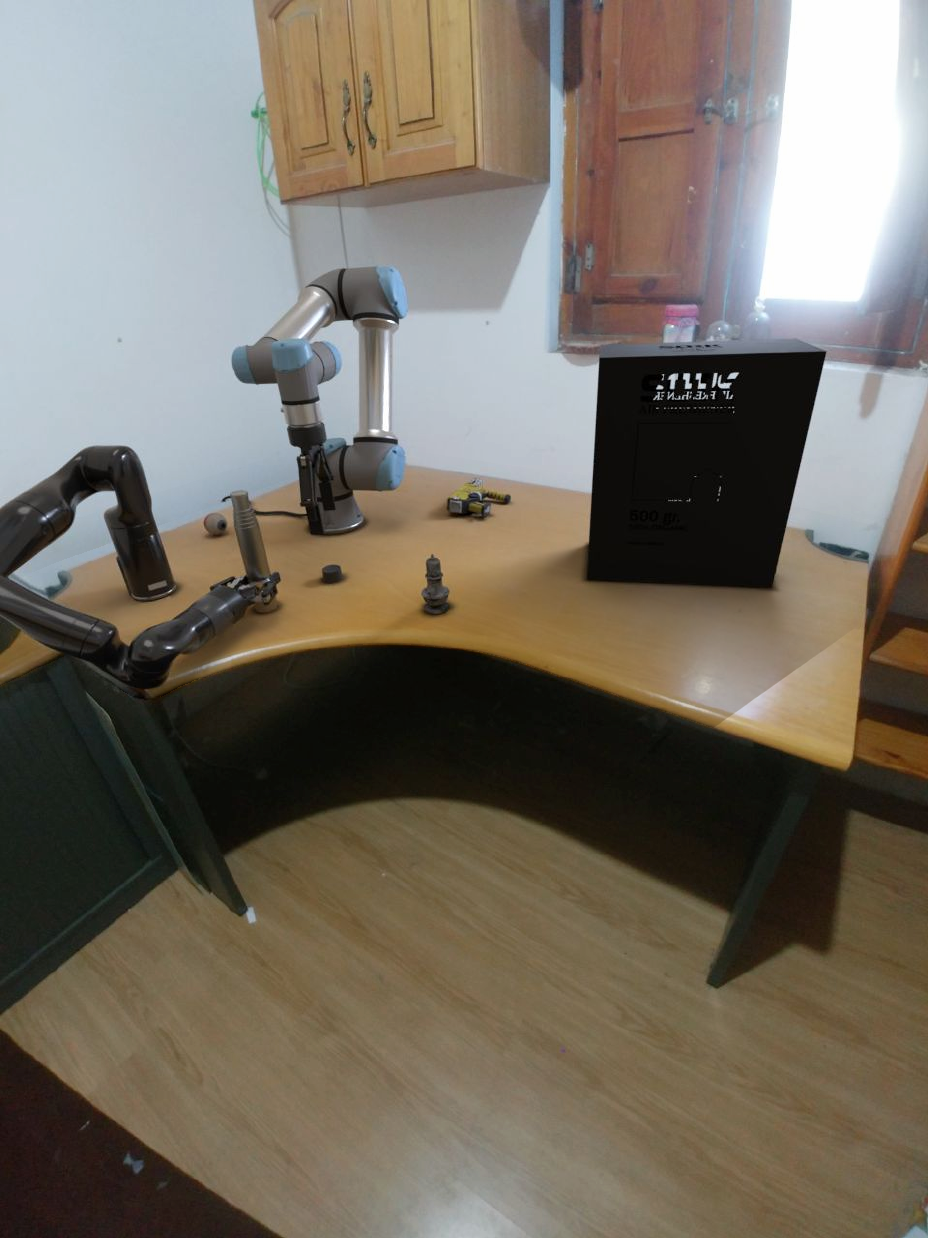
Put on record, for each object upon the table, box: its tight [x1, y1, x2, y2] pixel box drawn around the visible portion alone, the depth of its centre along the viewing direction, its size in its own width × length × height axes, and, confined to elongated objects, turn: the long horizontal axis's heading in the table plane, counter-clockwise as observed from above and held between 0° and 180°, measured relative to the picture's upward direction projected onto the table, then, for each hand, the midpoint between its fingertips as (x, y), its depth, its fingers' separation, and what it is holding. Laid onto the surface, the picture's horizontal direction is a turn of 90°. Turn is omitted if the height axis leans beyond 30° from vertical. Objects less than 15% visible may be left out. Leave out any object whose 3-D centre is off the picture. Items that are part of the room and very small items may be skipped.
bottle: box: [229, 489, 279, 614], centre depth 122 cm, size 5×5×25 cm
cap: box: [321, 564, 343, 584], centre depth 139 cm, size 4×4×3 cm
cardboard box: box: [586, 338, 828, 589], centre depth 126 cm, size 38×20×45 cm, turn 78°
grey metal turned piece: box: [420, 553, 451, 614], centre depth 122 cm, size 6×6×12 cm
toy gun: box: [446, 477, 512, 518], centre depth 177 cm, size 5×24×15 cm
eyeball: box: [203, 512, 228, 536], centre depth 166 cm, size 6×6×6 cm
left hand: (267, 574), depth 128 cm, fingers closed on bottle, 4 cm apart
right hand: (324, 521), depth 133 cm, fingers open, 13 cm apart
